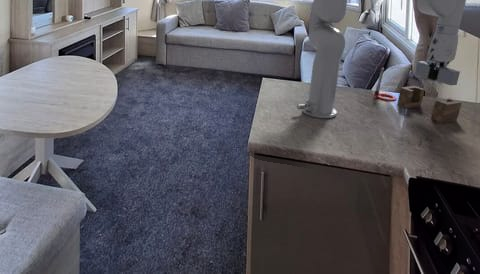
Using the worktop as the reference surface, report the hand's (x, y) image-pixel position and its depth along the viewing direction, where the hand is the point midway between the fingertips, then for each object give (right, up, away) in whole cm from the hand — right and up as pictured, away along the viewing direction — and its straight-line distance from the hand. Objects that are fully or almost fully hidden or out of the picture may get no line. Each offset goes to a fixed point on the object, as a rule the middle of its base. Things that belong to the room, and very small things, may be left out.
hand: (435, 78), depth 150 cm
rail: (0, 0, 0) cm, 0 cm away
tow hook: (-11, -6, +21) cm, 25 cm away
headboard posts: (-1, -13, +6) cm, 14 cm away
